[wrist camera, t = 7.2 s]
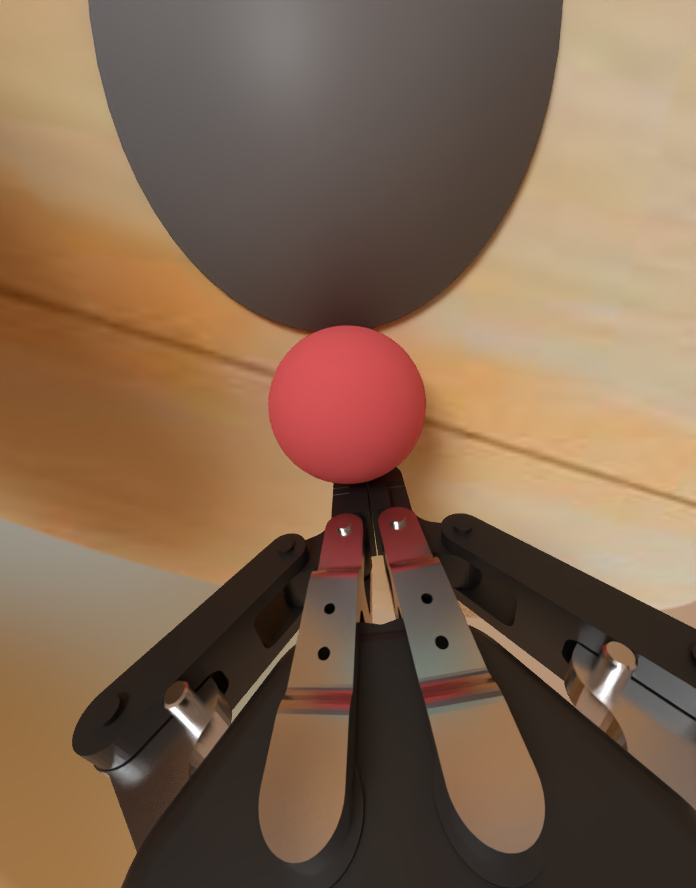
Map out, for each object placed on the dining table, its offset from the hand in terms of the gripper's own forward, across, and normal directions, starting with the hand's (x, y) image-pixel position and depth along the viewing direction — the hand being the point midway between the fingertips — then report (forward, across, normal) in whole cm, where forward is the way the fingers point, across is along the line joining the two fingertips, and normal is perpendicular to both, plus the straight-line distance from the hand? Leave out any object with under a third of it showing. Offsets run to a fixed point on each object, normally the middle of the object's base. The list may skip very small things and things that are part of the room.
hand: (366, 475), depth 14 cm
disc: (+1, 0, -13) cm, 13 cm away
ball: (-1, 0, -4) cm, 4 cm away
